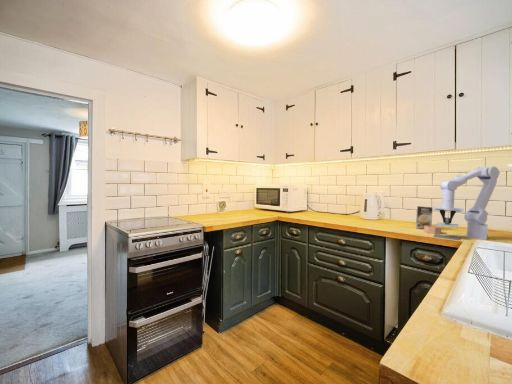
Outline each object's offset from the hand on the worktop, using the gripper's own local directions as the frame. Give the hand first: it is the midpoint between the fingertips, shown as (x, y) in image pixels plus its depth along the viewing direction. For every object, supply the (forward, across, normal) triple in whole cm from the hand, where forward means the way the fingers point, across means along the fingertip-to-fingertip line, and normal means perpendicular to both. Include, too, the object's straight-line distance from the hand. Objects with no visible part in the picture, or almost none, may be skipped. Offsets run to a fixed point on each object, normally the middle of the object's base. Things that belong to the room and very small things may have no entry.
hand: (447, 222), depth 151 cm
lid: (+2, 0, 0) cm, 2 cm away
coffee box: (+9, -15, +26) cm, 31 cm away
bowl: (+9, -8, +11) cm, 16 cm away
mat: (+9, 0, 0) cm, 9 cm away
